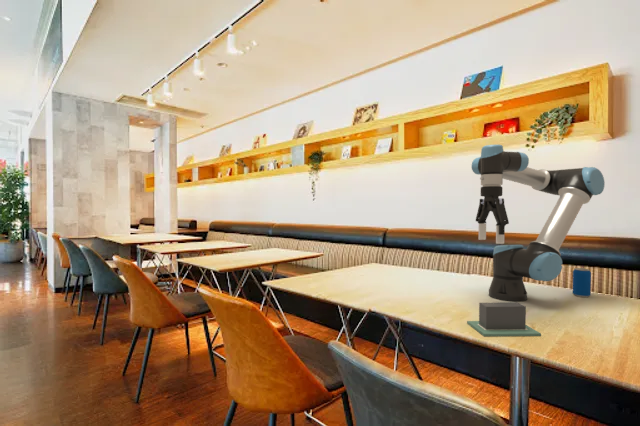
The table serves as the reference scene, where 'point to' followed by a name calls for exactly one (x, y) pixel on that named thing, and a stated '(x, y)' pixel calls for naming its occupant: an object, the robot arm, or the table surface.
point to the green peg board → (503, 331)
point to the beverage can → (581, 282)
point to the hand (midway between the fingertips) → (490, 241)
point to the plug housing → (502, 315)
